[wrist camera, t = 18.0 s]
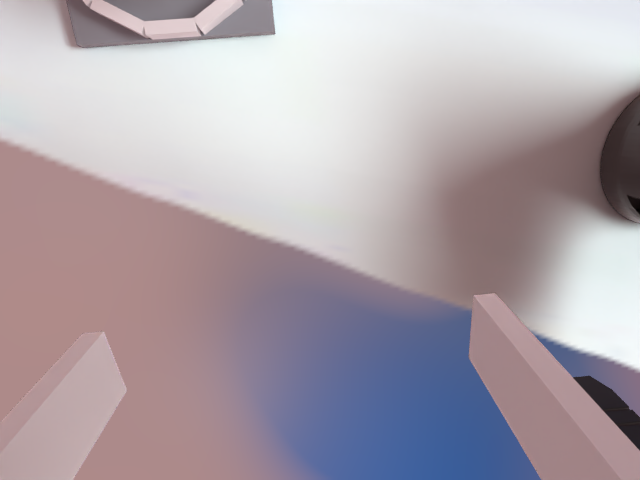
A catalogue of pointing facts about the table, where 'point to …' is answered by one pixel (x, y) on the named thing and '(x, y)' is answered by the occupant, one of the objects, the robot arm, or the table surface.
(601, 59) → the table surface
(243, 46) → the table surface
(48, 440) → the robot arm
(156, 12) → the collar board
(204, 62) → the table surface
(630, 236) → the table surface
